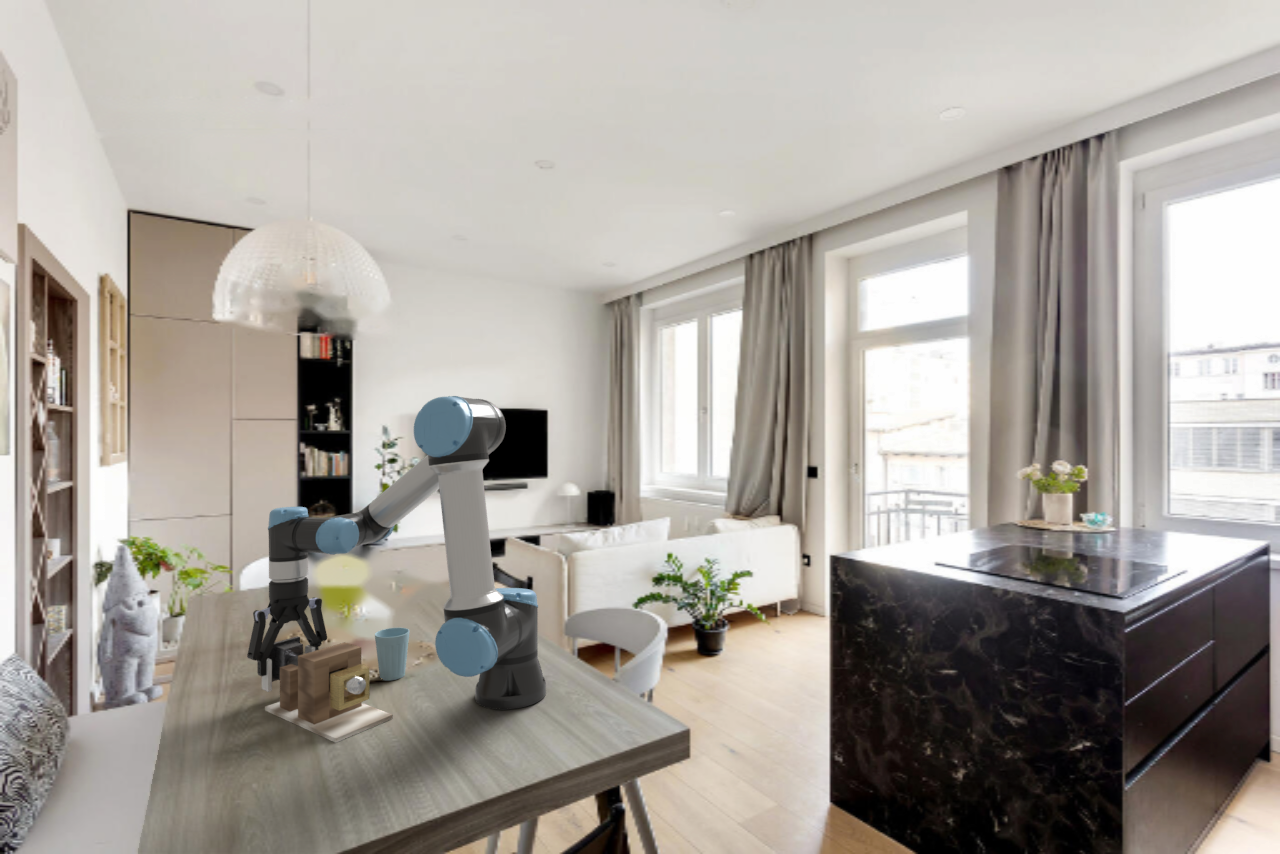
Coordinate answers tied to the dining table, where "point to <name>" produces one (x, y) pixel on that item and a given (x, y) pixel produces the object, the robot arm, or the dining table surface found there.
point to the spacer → (338, 687)
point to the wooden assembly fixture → (323, 695)
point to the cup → (392, 652)
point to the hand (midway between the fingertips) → (289, 682)
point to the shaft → (288, 654)
